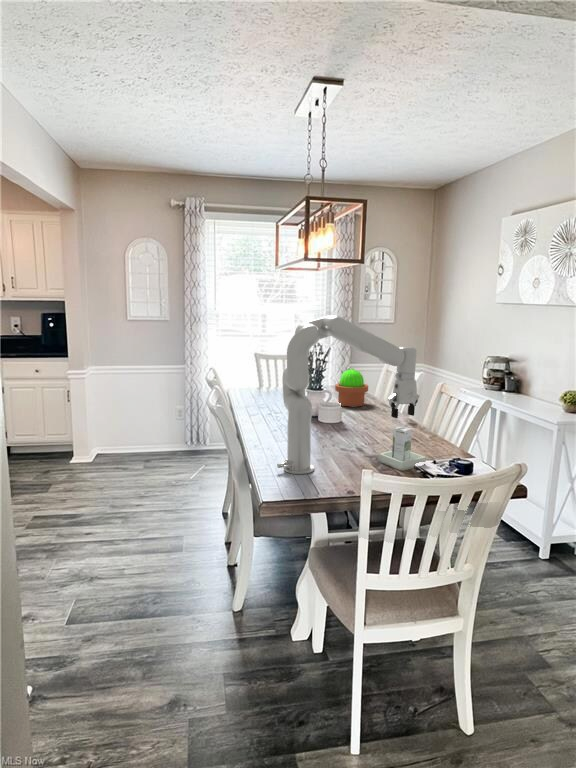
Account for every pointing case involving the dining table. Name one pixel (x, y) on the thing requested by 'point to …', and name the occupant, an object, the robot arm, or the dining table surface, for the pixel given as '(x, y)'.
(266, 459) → the dining table surface
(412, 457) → the tray
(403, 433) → the syrup box
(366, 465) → the dining table surface
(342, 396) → the potted cactus
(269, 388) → the dining table surface
